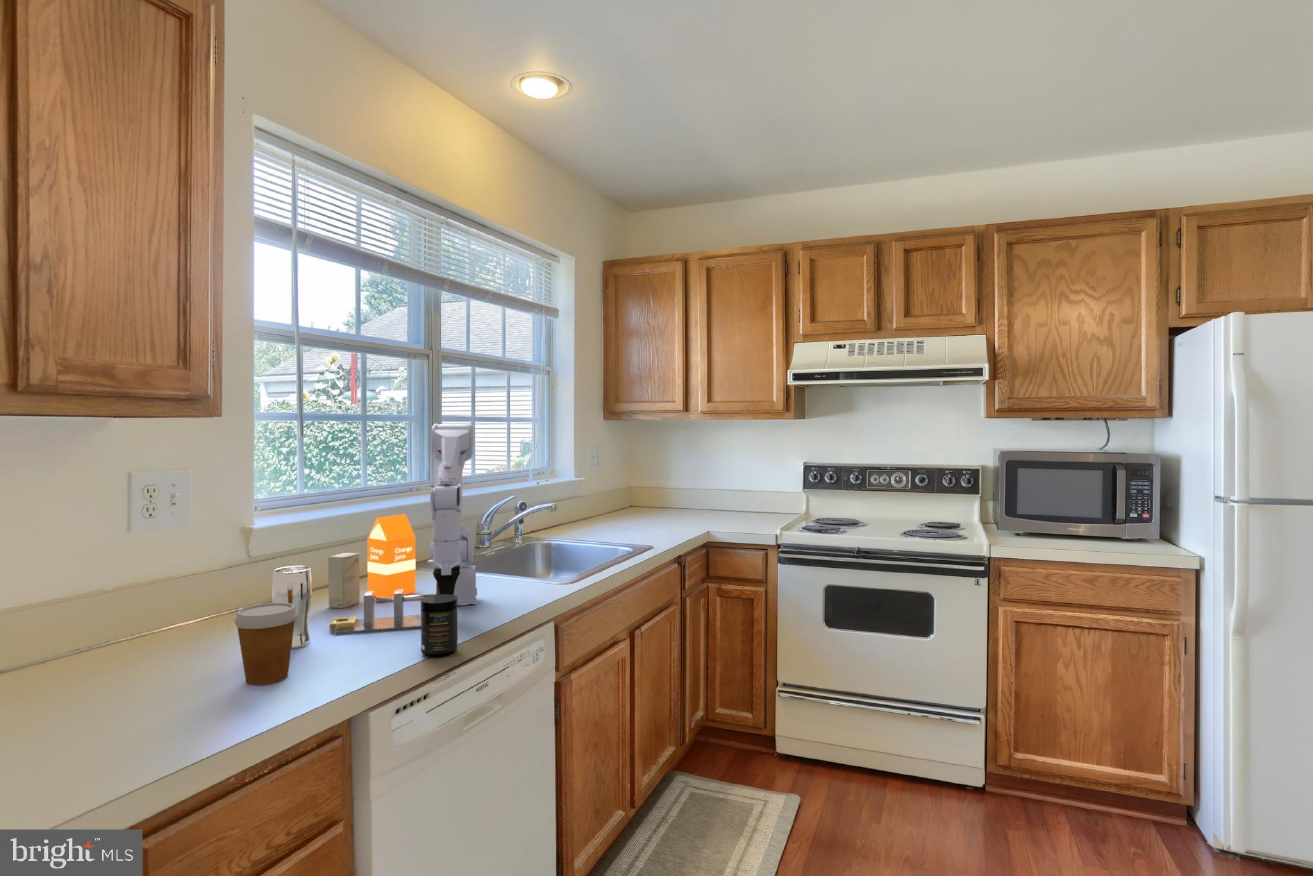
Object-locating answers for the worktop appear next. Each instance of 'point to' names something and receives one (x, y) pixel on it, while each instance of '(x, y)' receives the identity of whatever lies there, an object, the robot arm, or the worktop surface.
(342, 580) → the skincare box
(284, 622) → the disposable coffee cup
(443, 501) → the robot arm
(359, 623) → the bracket
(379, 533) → the orange juice
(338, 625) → the block
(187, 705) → the worktop surface
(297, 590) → the beer glass
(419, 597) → the shaft
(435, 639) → the supplement container
